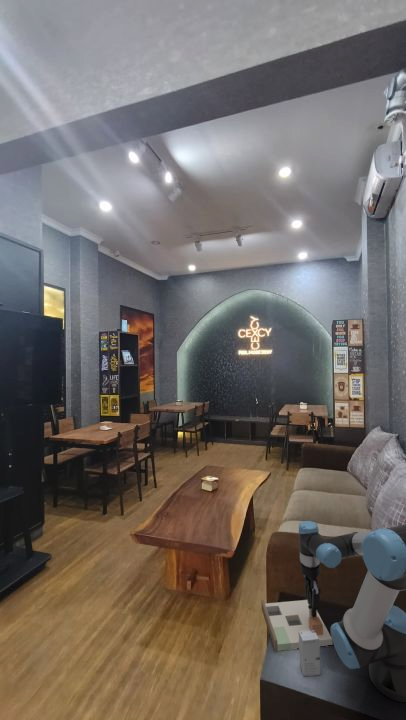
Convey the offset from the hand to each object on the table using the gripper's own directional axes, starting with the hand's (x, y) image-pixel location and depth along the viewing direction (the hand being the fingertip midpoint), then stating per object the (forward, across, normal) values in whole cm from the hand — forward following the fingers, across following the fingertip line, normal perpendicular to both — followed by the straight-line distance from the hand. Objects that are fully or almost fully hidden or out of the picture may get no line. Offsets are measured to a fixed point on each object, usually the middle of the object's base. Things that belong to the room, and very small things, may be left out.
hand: (313, 622), depth 137 cm
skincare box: (+4, -16, +8) cm, 18 cm away
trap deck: (+4, +4, +6) cm, 8 cm away
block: (+1, -3, 0) cm, 3 cm away
